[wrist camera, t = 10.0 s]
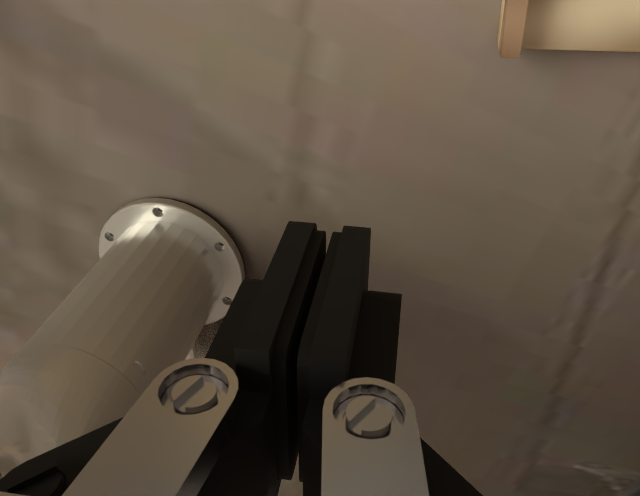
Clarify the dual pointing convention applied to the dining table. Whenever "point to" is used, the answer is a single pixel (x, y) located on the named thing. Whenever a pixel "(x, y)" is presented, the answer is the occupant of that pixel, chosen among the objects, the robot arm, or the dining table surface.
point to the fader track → (568, 25)
